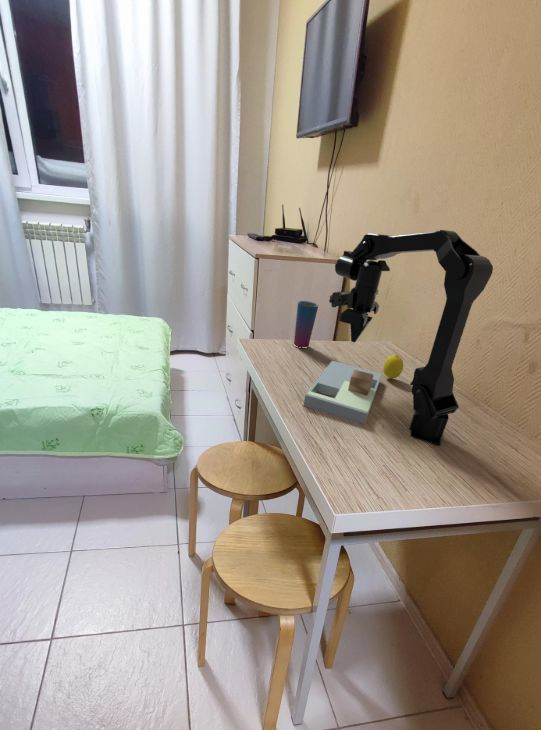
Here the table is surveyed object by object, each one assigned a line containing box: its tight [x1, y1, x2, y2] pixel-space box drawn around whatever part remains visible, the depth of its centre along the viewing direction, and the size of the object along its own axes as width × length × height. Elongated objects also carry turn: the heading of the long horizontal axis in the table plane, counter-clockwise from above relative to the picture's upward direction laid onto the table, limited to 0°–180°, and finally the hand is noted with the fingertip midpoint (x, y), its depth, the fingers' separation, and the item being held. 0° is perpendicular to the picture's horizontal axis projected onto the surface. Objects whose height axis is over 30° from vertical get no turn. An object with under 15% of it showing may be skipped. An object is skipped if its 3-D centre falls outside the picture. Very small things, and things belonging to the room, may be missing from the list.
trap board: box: [303, 360, 382, 425], centre depth 101 cm, size 15×27×3 cm, turn 157°
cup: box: [293, 300, 319, 347], centre depth 127 cm, size 7×7×15 cm
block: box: [348, 370, 374, 396], centre depth 98 cm, size 5×5×4 cm
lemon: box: [382, 354, 404, 380], centre depth 112 cm, size 6×6×8 cm
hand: (353, 341), depth 103 cm, fingers closed
